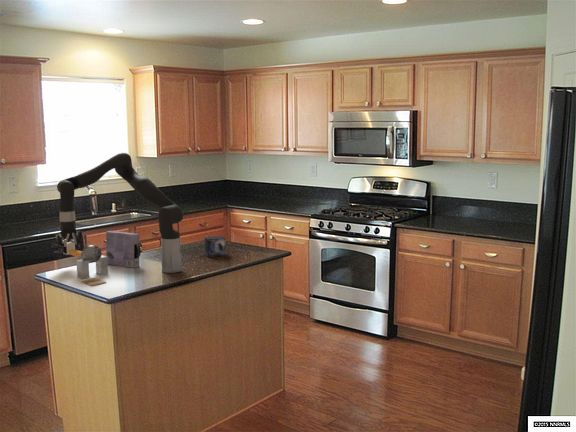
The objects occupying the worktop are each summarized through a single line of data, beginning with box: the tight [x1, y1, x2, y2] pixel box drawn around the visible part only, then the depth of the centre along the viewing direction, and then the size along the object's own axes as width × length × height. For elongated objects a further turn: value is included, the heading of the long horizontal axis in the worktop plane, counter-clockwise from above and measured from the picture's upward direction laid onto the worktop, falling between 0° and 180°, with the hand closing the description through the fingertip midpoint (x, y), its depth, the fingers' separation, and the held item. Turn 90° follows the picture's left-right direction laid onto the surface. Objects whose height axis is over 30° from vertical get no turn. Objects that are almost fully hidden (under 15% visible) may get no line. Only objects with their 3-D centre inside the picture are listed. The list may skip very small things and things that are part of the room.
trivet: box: [80, 277, 107, 287], centre depth 277 cm, size 10×7×1 cm
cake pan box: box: [105, 230, 142, 269], centre depth 307 cm, size 19×5×18 cm, turn 68°
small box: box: [204, 235, 226, 258], centre depth 330 cm, size 11×6×10 cm, turn 114°
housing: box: [76, 244, 109, 280], centre depth 288 cm, size 4×14×15 cm, turn 139°
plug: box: [62, 241, 83, 259], centre depth 297 cm, size 19×4×6 cm, turn 49°
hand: (69, 252), depth 301 cm, fingers closed on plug, 4 cm apart
